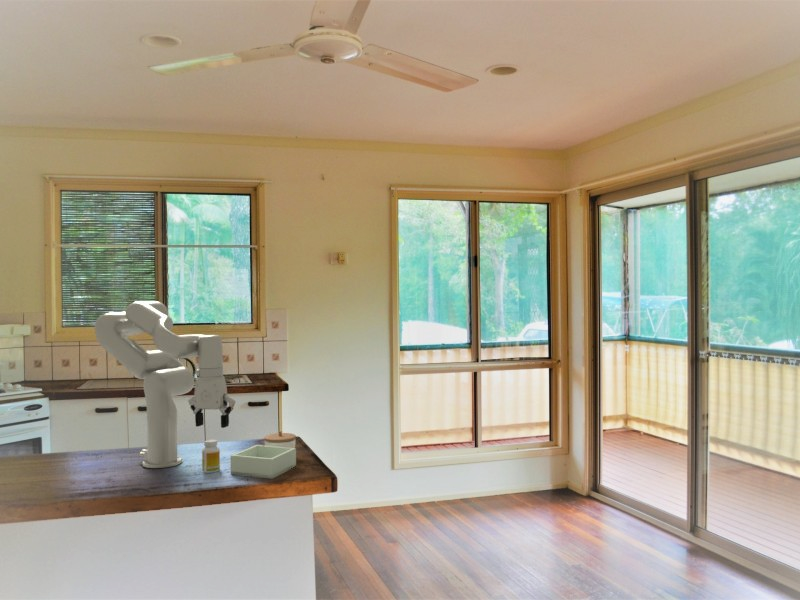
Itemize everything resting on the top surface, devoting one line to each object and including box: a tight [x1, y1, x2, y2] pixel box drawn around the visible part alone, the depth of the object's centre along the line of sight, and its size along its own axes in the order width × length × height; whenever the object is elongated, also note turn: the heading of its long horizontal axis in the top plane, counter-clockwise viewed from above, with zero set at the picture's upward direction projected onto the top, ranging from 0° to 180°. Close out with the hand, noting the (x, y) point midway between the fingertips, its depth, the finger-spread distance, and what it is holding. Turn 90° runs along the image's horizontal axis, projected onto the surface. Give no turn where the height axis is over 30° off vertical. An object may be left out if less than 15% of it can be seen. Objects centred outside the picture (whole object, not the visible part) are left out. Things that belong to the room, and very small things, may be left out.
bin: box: [230, 444, 297, 480], centre depth 202 cm, size 15×15×6 cm
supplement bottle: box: [201, 439, 221, 474], centre depth 202 cm, size 5×5×10 cm
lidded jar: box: [263, 430, 297, 448], centre depth 217 cm, size 11×11×9 cm
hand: (212, 426), depth 202 cm, fingers open, 9 cm apart
